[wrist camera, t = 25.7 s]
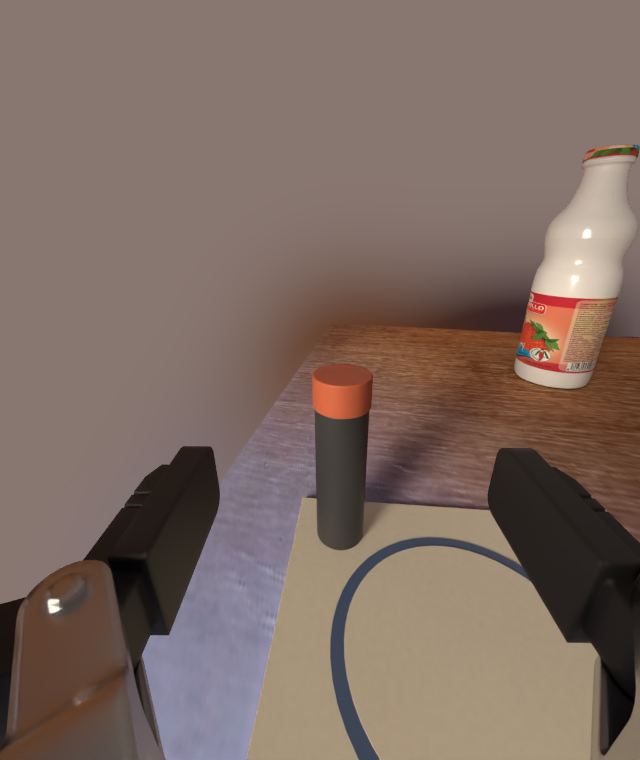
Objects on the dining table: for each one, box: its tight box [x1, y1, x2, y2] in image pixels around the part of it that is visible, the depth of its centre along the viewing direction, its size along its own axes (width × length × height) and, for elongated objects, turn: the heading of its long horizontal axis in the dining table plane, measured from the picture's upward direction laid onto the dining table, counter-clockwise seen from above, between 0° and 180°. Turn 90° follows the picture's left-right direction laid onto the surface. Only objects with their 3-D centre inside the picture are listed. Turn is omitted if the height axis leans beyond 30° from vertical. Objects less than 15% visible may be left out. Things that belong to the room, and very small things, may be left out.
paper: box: [246, 498, 598, 760], centre depth 17 cm, size 20×20×1 cm
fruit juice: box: [514, 144, 639, 389], centre depth 44 cm, size 9×9×28 cm
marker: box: [312, 364, 373, 550], centre depth 21 cm, size 3×3×12 cm
